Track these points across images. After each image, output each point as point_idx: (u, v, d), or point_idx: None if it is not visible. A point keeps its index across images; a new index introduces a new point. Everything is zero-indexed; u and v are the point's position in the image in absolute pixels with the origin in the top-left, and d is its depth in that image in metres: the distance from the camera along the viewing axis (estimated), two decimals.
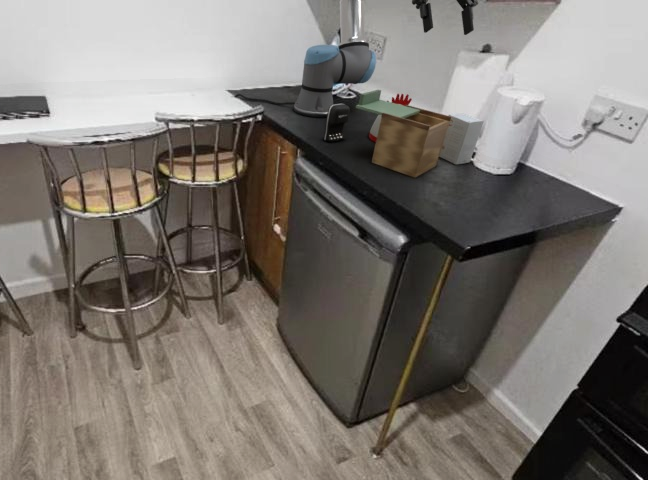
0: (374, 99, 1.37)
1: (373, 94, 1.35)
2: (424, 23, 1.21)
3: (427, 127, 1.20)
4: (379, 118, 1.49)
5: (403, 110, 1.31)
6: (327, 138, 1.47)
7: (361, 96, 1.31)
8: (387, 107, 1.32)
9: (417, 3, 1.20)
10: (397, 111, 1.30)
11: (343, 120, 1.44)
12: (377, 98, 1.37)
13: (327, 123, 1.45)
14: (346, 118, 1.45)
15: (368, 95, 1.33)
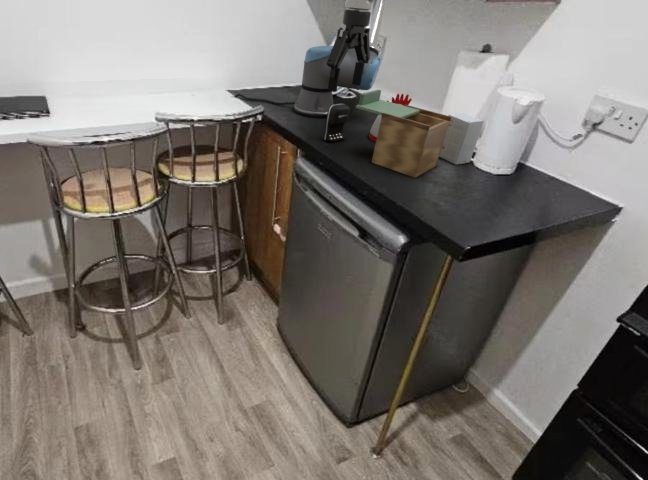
0: (374, 99, 1.37)
1: (373, 94, 1.35)
2: (330, 82, 1.35)
3: (427, 127, 1.20)
4: (379, 118, 1.49)
5: (403, 110, 1.31)
6: (327, 138, 1.47)
7: (361, 96, 1.31)
8: (387, 107, 1.32)
9: (330, 66, 1.30)
10: (397, 111, 1.30)
11: (343, 120, 1.44)
12: (377, 98, 1.37)
13: (327, 123, 1.45)
14: (346, 118, 1.45)
15: (368, 95, 1.33)
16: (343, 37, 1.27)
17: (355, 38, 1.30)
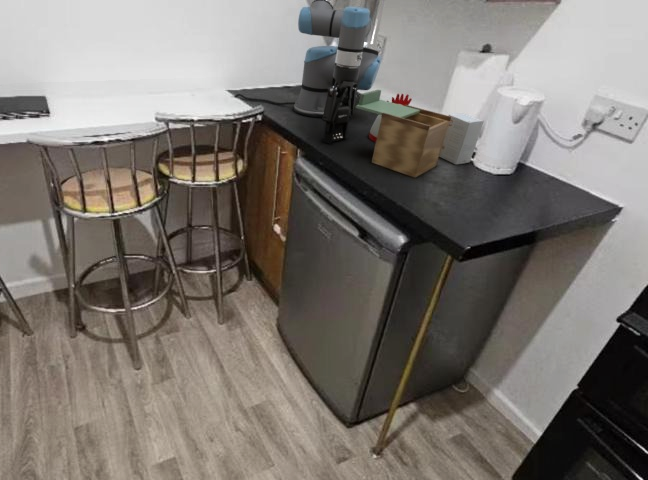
0: (374, 99, 1.37)
1: (373, 94, 1.35)
2: (325, 135, 1.45)
3: (427, 127, 1.20)
4: (379, 118, 1.49)
5: (403, 110, 1.31)
6: None
7: (361, 96, 1.31)
8: (387, 107, 1.32)
9: (326, 121, 1.41)
10: (397, 111, 1.30)
11: (343, 120, 1.44)
12: (377, 98, 1.37)
13: None
14: (346, 118, 1.45)
15: (368, 95, 1.33)
16: (333, 96, 1.36)
17: (345, 92, 1.38)
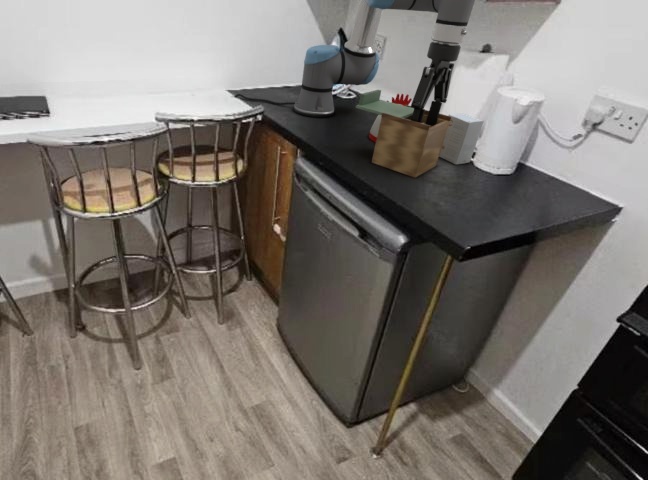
0: (374, 99, 1.37)
1: (373, 94, 1.35)
2: None
3: (427, 127, 1.20)
4: (379, 118, 1.49)
5: (403, 110, 1.31)
6: None
7: (361, 96, 1.31)
8: (387, 107, 1.32)
9: (415, 107, 1.19)
10: (397, 111, 1.30)
11: None
12: (377, 98, 1.37)
13: None
14: None
15: (368, 95, 1.33)
16: (430, 76, 1.15)
17: (441, 74, 1.18)
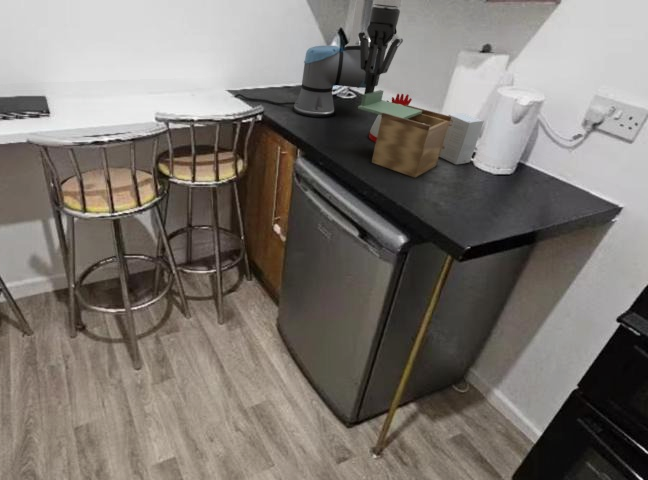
0: (376, 100, 1.36)
1: (375, 95, 1.34)
2: None
3: (427, 127, 1.20)
4: (379, 118, 1.49)
5: (405, 111, 1.30)
6: None
7: (363, 97, 1.31)
8: (389, 108, 1.32)
9: None
10: (399, 112, 1.29)
11: None
12: (379, 99, 1.37)
13: None
14: None
15: (370, 96, 1.32)
16: (360, 40, 1.30)
17: (372, 36, 1.26)
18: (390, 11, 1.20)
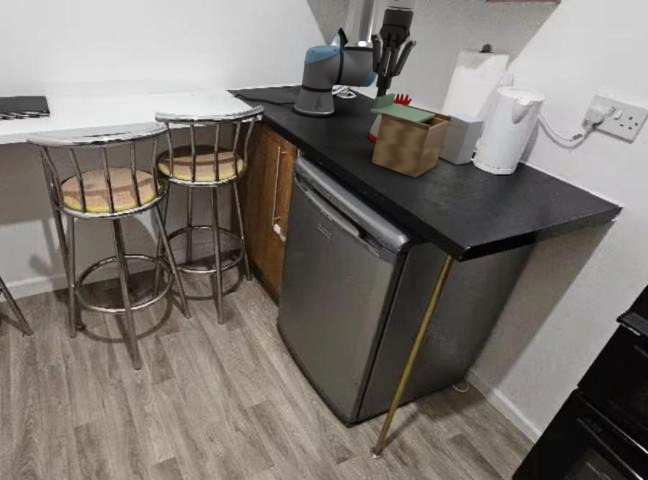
0: (388, 103, 1.34)
1: (387, 98, 1.32)
2: None
3: (427, 127, 1.20)
4: (379, 118, 1.49)
5: (418, 114, 1.28)
6: None
7: (375, 100, 1.29)
8: (402, 111, 1.30)
9: None
10: (412, 115, 1.27)
11: None
12: (391, 102, 1.35)
13: None
14: None
15: (382, 99, 1.30)
16: (372, 42, 1.28)
17: (385, 38, 1.24)
18: (404, 13, 1.18)
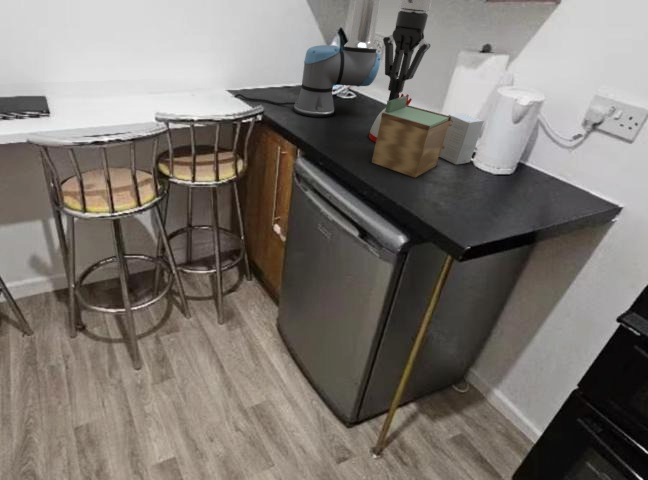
0: (400, 106, 1.32)
1: (400, 101, 1.30)
2: None
3: (427, 127, 1.20)
4: (379, 118, 1.49)
5: (432, 118, 1.26)
6: None
7: (388, 103, 1.27)
8: (415, 114, 1.28)
9: None
10: (426, 119, 1.25)
11: None
12: (403, 105, 1.33)
13: None
14: None
15: (395, 102, 1.28)
16: (385, 45, 1.25)
17: (398, 41, 1.22)
18: (418, 15, 1.16)
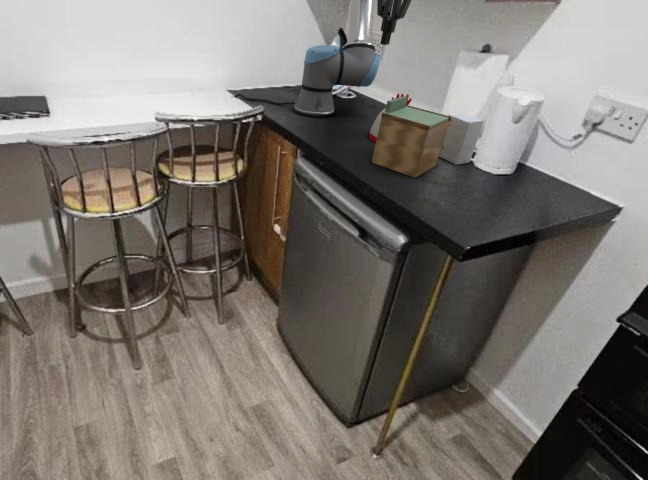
0: (401, 106, 1.32)
1: (400, 101, 1.30)
2: None
3: (427, 127, 1.20)
4: (379, 118, 1.49)
5: (432, 118, 1.26)
6: None
7: (388, 103, 1.27)
8: (415, 115, 1.28)
9: None
10: (426, 119, 1.25)
11: None
12: (403, 105, 1.33)
13: None
14: None
15: (395, 102, 1.28)
16: None
17: None
18: None
